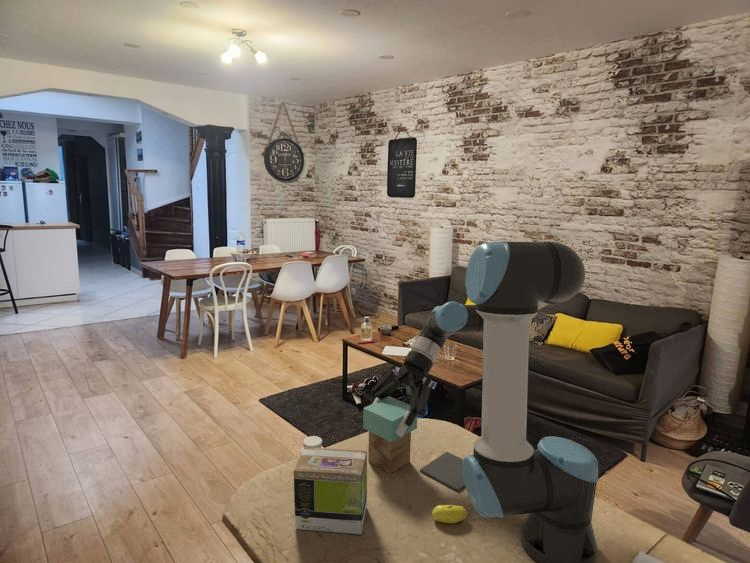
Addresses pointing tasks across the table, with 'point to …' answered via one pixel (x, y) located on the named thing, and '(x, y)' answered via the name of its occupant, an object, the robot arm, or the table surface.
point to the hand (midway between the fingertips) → (382, 427)
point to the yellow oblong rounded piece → (449, 513)
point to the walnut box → (389, 452)
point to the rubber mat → (446, 471)
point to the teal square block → (386, 418)
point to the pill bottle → (312, 442)
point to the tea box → (330, 490)
